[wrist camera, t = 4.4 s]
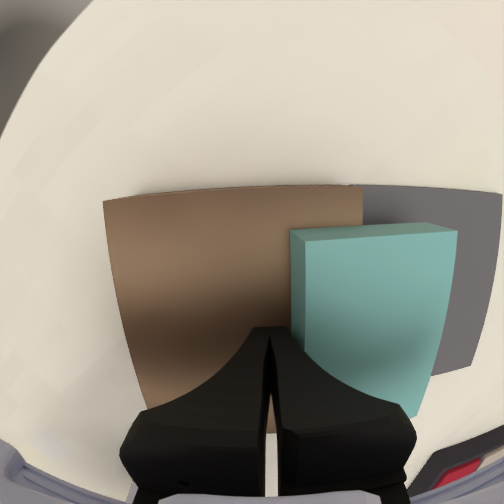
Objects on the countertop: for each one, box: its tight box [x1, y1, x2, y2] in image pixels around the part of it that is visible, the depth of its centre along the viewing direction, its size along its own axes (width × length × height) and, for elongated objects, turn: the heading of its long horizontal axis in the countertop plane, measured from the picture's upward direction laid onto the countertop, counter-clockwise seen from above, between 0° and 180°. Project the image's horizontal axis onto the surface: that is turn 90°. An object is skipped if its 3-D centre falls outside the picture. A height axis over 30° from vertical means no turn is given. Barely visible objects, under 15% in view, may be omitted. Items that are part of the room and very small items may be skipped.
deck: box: [103, 185, 363, 433], centre depth 13 cm, size 12×10×4 cm
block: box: [290, 222, 458, 418], centre depth 11 cm, size 9×6×2 cm, turn 3°
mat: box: [349, 185, 502, 376], centre depth 14 cm, size 12×10×1 cm
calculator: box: [407, 425, 504, 498], centre depth 19 cm, size 11×4×15 cm
